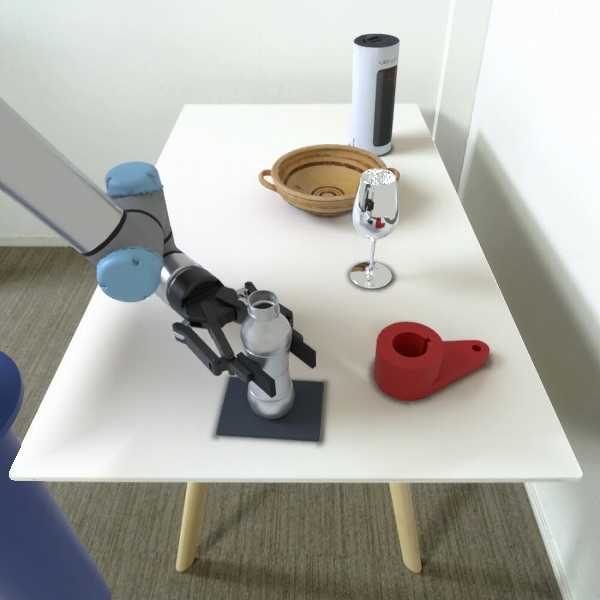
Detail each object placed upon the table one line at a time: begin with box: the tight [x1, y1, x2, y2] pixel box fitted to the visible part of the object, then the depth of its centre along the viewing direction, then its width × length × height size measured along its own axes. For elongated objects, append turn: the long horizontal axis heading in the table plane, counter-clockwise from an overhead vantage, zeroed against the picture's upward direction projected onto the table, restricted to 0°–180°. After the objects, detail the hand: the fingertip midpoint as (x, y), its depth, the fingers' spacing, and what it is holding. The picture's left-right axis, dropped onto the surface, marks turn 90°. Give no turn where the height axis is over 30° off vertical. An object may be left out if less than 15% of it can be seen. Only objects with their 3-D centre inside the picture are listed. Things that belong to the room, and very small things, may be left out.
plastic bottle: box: [239, 289, 295, 419], centre depth 71 cm, size 6×7×20 cm
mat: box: [215, 376, 325, 442], centre depth 78 cm, size 14×10×1 cm
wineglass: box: [349, 168, 400, 290], centre depth 93 cm, size 8×8×20 cm
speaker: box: [349, 33, 401, 157], centre depth 130 cm, size 11×10×26 cm
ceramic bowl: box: [258, 143, 401, 217], centre depth 117 cm, size 30×24×8 cm
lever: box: [373, 321, 491, 402], centre depth 80 cm, size 18×9×7 cm, turn 106°
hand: (294, 374), depth 67 cm, fingers closed on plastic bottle, 6 cm apart
